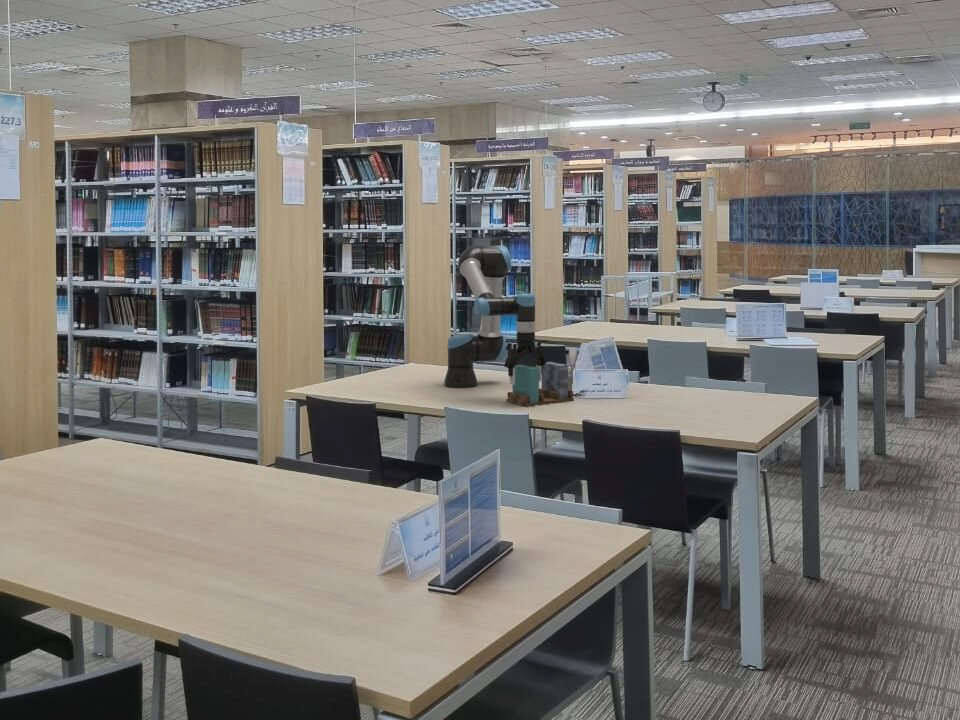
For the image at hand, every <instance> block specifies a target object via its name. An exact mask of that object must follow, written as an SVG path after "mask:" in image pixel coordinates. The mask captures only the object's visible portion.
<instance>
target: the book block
mask: <svg viewBox="0 0 960 720" xmlns="http://www.w3.org/2000/svg"><path fill="white" fill-rule="evenodd" d="M514 369H515V385H513V384H512V393H517V394H521V395H526V396H529V403H535V402H539V388H540V381H539V368H536V366H529V365H524V364H518V365H517V364H516V365H515V366H514Z"/></svg>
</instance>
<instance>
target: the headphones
mask: <svg viewBox="0 0 960 720" xmlns="http://www.w3.org/2000/svg"><path fill="white" fill-rule="evenodd" d="M578 352H579V350H578V348H576V347H571V348H569V350H568V363H569V365H568V366H570V370H568V390H572V384H573V371H574V368H575V369H576V362H577V360H578V354H579V353H578Z"/></svg>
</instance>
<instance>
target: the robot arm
mask: <svg viewBox="0 0 960 720" xmlns="http://www.w3.org/2000/svg"><path fill="white" fill-rule="evenodd" d="M457 263H458V264H457V267H458V269H459V272H460V274H461V275H462V276H463V277H464V278H465V279H466V281H467V284H468V286H469V288H470V290H471V292H472V294H473V297H474V299H475V300H474V303H473V310H474V313H475V315H477V317H479V316H480V317H481V323H480V329H479V330H478V331H477V332H476V333H477V336H474V335H473V334H472V333H461V334H456V335H452V336H450V337H449V338H448V340H447V370H446V373H445V376H444V377H445V378H444V381H443V382H444V383H443V384H444V386H445V387H447V388H448V387H449V388H460V389H462V388H464V389H465V388H472V387H477V386H478V379H477V375H476V373H475V370H474V363H479V362H480V363H481V362H482V363H483V362H485V363H486V362H499V361H501V360H503V359H504V357H505V355H506V352H507V339H506V337H505V336H504V335H503V332H502V331H501V328H500V327H501V316H516V331H517V332H516V342H517V343H516V344H514V343H511V344H510V349H509V352H508V355H507V357H506V359H505V362H504V364H503V366H504V367H505V368H507V370H508V371H507V372H508V377H509V385H512V386H513V385H515V369H514V366H515V365H517V363H518V362H519V360H520V358H521V357H522V356H523V355H530V356H531V357H532V359H533V360H534V361H535V363H536V365H535V368H539V382H542V368H543V366H544V364H546V363H547V362H548V361H547V359H546V356H545V354H544V351H543V349H542V347H541V341H540V342H539V341H535V340H536V333H535V332H534V331H536V296H535V294H534V293H518V294H517V295H516V296H515V295H514V296H513V295H512V296H507V297H505V296H503V297H502V295H503V293H502V292H503V280H504V279H505V278H506V277H507V273H508V272H510V271H511V270H512V269H511V268H512V257H511V252H510V251H509V249H508V248H507V246H505V245H471V246H469V247H468V248H466V249H465V250H464V251H463V252H462V253H460V256H459V257H458V261H457Z"/></svg>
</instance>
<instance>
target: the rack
mask: <svg viewBox="0 0 960 720" xmlns="http://www.w3.org/2000/svg"><path fill="white" fill-rule="evenodd" d="M568 372H569V365H568V364H564V363H560V362H553V361H547V363H546V364H544V366H543V368H542V373H541V388H540V387H539V402H535V403H529V396H526V395H521V394H517V393H513V391H507V398H506V400H505V401H506V403H508V404H511V405H512V404H513V405H516V406H521V407H524V406H525V408H529V406H531V407H536V406H535V405H538V406H544V405H543V404H546V405H550V404H549V403H553V404H558V402H560V403H566V402H574V401H575V397H573V396H574V394H573V391H572V390H568Z"/></svg>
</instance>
